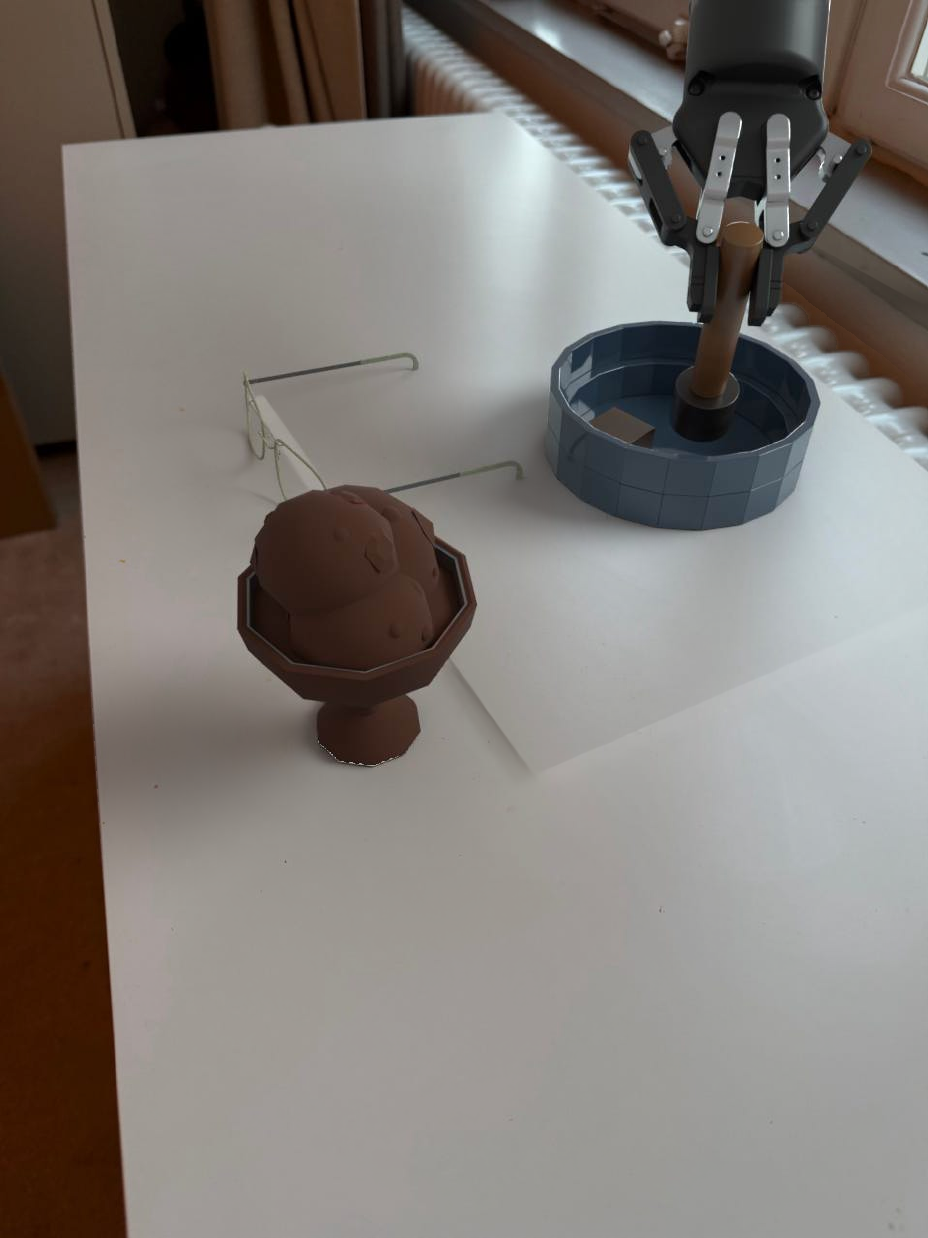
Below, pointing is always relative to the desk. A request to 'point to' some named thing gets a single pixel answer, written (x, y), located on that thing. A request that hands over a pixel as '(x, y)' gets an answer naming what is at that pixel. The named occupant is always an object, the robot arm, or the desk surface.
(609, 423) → the block
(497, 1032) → the desk surface
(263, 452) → the eyeglasses
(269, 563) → the ice cream bowl
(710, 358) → the pestle
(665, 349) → the bowl
